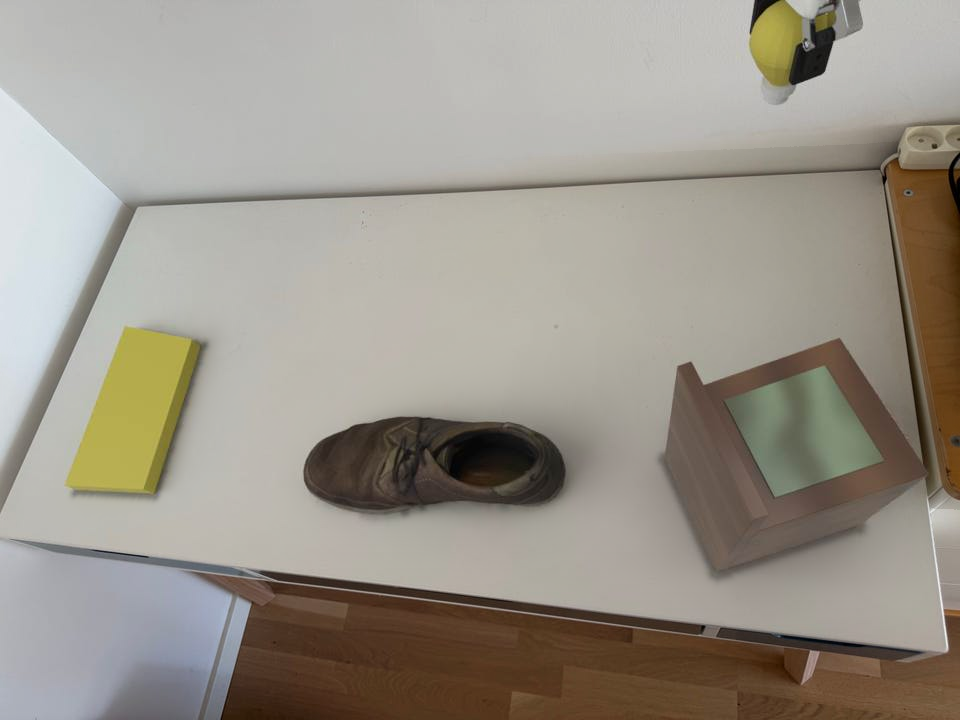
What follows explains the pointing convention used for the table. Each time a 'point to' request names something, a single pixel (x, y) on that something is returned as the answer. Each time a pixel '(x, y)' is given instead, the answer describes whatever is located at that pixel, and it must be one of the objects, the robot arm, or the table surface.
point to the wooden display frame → (784, 453)
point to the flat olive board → (135, 414)
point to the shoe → (433, 465)
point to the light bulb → (778, 48)
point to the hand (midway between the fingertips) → (785, 52)
